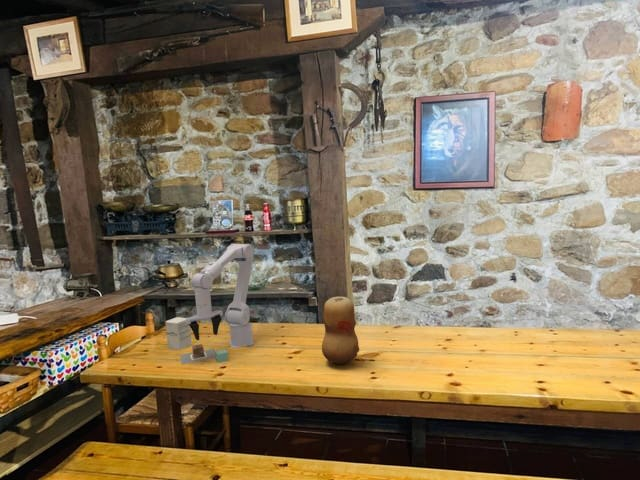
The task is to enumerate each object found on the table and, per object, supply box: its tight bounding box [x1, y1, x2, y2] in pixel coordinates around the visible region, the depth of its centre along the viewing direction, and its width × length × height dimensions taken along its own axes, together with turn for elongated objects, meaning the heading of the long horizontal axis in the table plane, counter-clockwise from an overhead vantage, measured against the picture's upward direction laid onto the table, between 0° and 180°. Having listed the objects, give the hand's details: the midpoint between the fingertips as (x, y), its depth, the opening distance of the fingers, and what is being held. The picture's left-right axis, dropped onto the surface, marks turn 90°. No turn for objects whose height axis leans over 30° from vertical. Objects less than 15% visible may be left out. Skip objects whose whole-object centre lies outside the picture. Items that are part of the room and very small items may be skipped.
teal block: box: [215, 348, 229, 363], centre depth 166 cm, size 4×4×4 cm
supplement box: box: [165, 316, 193, 351], centre depth 183 cm, size 7×7×13 cm
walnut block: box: [191, 343, 205, 359], centre depth 171 cm, size 4×4×4 cm
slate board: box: [179, 348, 216, 365], centre depth 172 cm, size 14×11×1 cm
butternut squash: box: [321, 296, 360, 365], centre depth 157 cm, size 14×13×25 cm
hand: (206, 337), depth 167 cm, fingers open, 7 cm apart
